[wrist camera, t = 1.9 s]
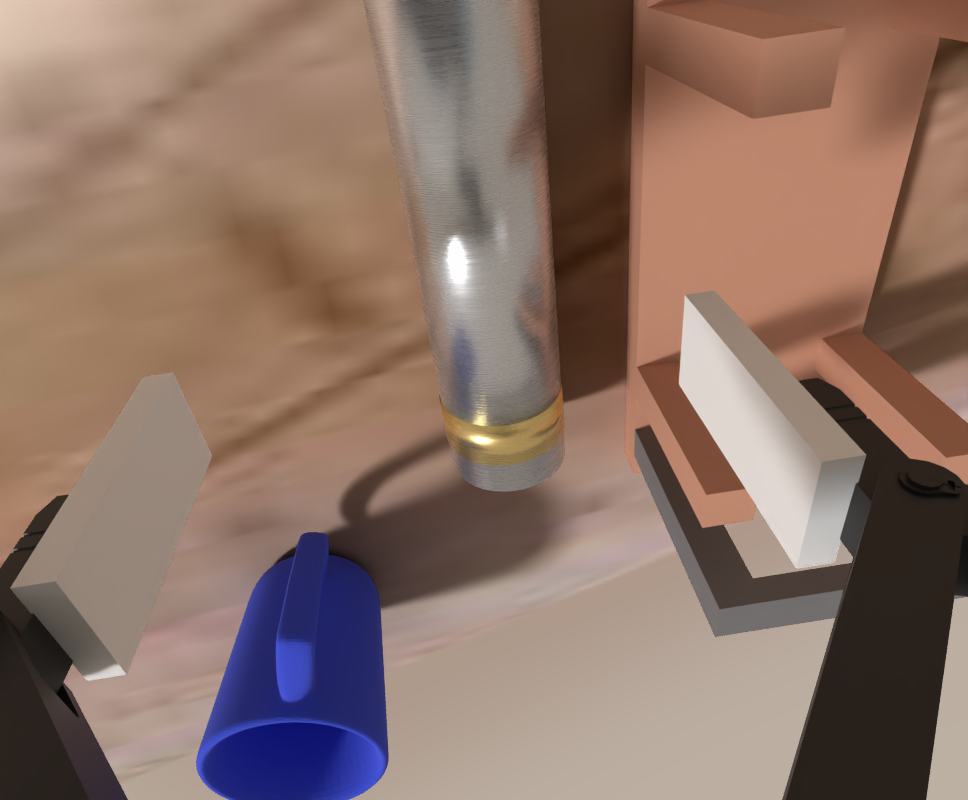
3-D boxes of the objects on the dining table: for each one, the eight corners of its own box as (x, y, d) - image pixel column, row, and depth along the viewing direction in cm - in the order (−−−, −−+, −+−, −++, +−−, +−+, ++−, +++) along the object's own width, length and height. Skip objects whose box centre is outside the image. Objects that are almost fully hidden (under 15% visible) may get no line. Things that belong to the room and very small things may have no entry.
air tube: (302, -99, 17) (438, -131, 14) (435, -110, 20) (571, -139, 17) (428, 463, 29) (517, 510, 26) (500, 404, 32) (588, 441, 29)
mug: (403, 484, 33) (402, 663, 25) (387, 630, 39) (382, 808, 31) (233, 476, 31) (173, 663, 23) (246, 629, 38) (204, 815, 30)
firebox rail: (637, -209, 18) (878, -365, 9) (981, -258, 18) (1570, -461, 9) (625, 453, 33) (712, 656, 24) (817, 424, 33) (978, 613, 24)
